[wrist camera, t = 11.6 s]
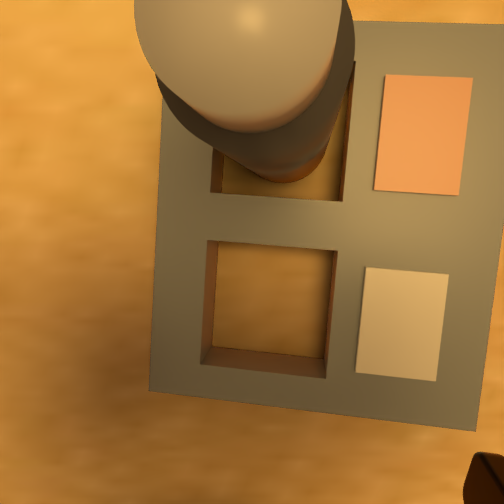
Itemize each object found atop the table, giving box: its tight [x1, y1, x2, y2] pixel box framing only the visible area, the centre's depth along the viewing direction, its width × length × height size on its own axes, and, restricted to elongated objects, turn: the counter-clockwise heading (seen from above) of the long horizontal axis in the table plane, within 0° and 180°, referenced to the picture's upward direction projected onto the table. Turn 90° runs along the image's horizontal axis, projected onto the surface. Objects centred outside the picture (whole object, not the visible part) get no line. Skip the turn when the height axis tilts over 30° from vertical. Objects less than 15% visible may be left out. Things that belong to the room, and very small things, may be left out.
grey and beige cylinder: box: [134, 0, 355, 183], centre depth 14 cm, size 4×4×14 cm
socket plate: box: [149, 21, 504, 432], centre depth 19 cm, size 16×14×3 cm
